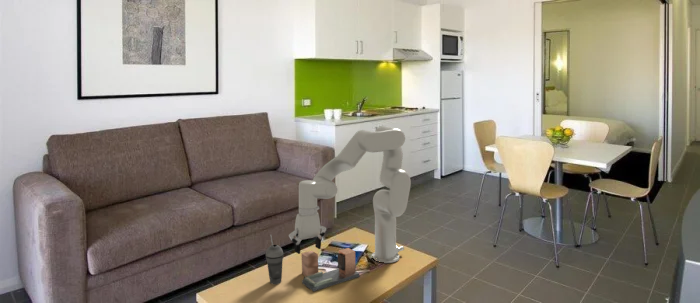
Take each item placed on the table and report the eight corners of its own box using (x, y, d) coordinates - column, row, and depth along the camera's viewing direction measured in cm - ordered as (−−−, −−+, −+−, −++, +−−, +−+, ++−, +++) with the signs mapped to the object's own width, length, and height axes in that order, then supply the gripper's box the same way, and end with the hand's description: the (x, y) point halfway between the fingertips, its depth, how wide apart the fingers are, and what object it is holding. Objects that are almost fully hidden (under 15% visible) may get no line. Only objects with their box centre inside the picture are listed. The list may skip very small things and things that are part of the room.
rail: (346, 269, 197) (346, 246, 195) (359, 276, 190) (359, 252, 188) (302, 283, 184) (301, 258, 183) (313, 291, 177) (312, 266, 175)
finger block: (311, 269, 197) (310, 250, 195) (318, 274, 192) (317, 254, 191) (301, 272, 194) (300, 252, 193) (308, 277, 189) (307, 257, 188)
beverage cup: (281, 286, 182) (279, 238, 178) (263, 285, 183) (261, 237, 180) (287, 278, 189) (285, 232, 185) (270, 277, 190) (268, 231, 187)
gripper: (321, 205, 196) (321, 243, 199) (284, 211, 186) (285, 251, 189) (330, 209, 190) (330, 249, 193) (293, 216, 180) (293, 257, 183)
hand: (308, 250), depth 191 cm, fingers open, 9 cm apart
